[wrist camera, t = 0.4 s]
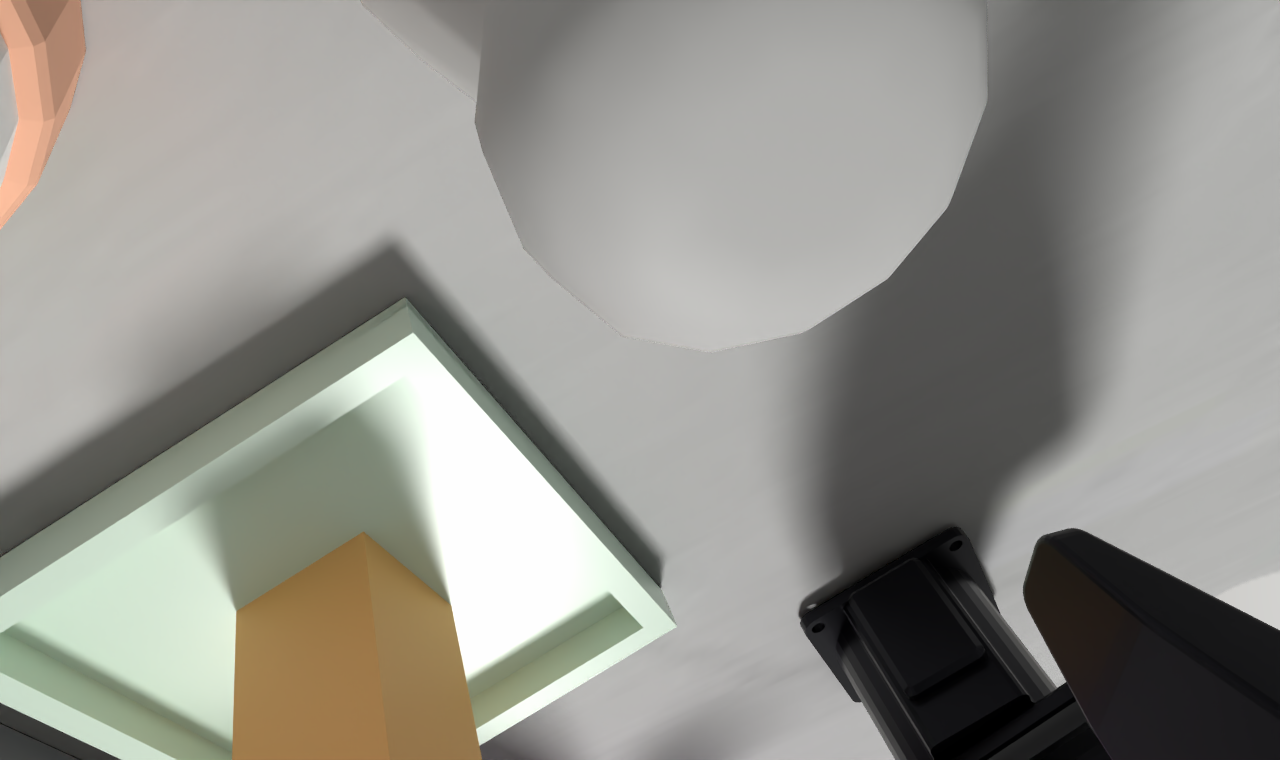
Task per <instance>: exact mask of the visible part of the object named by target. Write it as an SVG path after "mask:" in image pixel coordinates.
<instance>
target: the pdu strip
mask: <svg viewBox="0 0 1280 760" xmlns="http://www.w3.org/2000/svg"><path fill="white" fill-rule="evenodd" d="M0 760H79V759H76V758H74V757H72V756H70V755H68V754H65V753H63V752H61V751H59V750H57V749H55V748H52V747H50V746H48V745H46V744H44V743H41V742H39V741H37V740H35V739H33V738H30V737H28V736H26V735H24V734H22V733H19V732H17V731H15V730H13V729H11V728H8V727H6V726H4V725H2V724H0Z"/></svg>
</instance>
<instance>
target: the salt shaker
mask: <svg viewBox="0 0 1280 760" xmlns="http://www.w3.org/2000/svg"><path fill="white" fill-rule="evenodd" d="M360 1H361V3H362V5H363V6H364V7H365V8H366V9H367V10H368V11H369V12H370V13H371V14H372V15H373V16H374V17H376V18H377V19H378V20H379V21H380V22H381V23H382V24H383V25H384V26H385V27H386V28H387V29H388V30H389V31H391V32H392V33H393V34H394V35H395V36H396V37H397V38H398V39H399V40H400V41H401V42H402V43H403V44H404V45H405V46H407V47H408V48H409V49H410V50H411V51H412V52H413V53H414V54H415V55H416V56H417V57H418V58H419V59H420V60H422V61H423V62H424V63H425V64H426V65H428V66H429V67H430V68H432V69H433V70H434V71H436V72H437V73H438V74H439V75H441V76H442V77H443V78H445V79H446V80H447V81H449V82H450V83H451V84H452V85H454V86H455V87H456V88H458V89H459V90H460V91H462V92H463V93H464V94H466V95H467V96H468V97H469V98H471V99H472V100H473V101H475V102H476V114H475V125H476V129H477V133H478V136H479V140H480V144H481V147H482V151H483V154H484V156H485V158H486V161H487V163H488V165H489V168H490V170H491V173H492V175H493V177H494V180H495V182H496V184H497V187H498V189H499V192H500V194H501V196H502V199H503V201H504V204H505V206H506V208H507V211H508V213H509V215H510V218H511V220H512V223H513V225H514V227H515V230H516V232H517V234H518V237H519V239H520V242H521V244H522V246H523V249H524V250H525V251H526V252H527V253H528V254H529V255H530V256H531V257H532V258H533V259H534V260H535V261H536V262H537V263H538V264H539V266H540V267H541V268H542V269H543V270H544V271H545V272H546V273H547V274H548V275H549V276H550V277H551V278H552V279H553V280H554V281H555V282H557V283H558V284H559V285H560V286H561V287H563V288H564V289H565V290H566V291H568V292H569V293H570V294H571V295H572V296H574V297H575V298H576V299H577V300H578V301H580V302H581V303H582V304H583V305H584V306H586V307H587V308H588V309H589V310H590V311H592V312H593V313H594V314H595V315H596V316H598V317H599V318H600V319H601V320H602V321H604V322H605V323H606V324H607V325H608V326H610V327H611V328H612V329H613V330H614V331H616V332H617V333H618V334H619V335H620V336H622V337H627V338H632V339H638V340H643V341H649V342H654V343H660V344H665V345H671V346H676V347H682V348H687V349H692V350H698V351H703V352H709V353H711V352H716V351H721V350H726V349H730V348H735V347H740V346H745V345H749V344H754V343H759V342H763V341H768V340H773V339H778V338H782V337H787V336H792V335H797V334H801V333H803V332H805V331H807V330H809V329H810V328H812V327H814V326H816V325H817V324H819V323H820V322H822V321H823V320H825V319H826V318H828V317H830V316H831V315H833V314H834V313H836V312H837V311H839V310H840V309H842V308H843V307H845V306H847V305H848V304H850V303H851V302H853V301H854V300H856V299H857V298H859V297H861V296H862V295H864V294H865V293H867V292H868V291H870V290H871V289H873V288H874V287H876V286H878V285H879V284H881V283H882V282H884V281H885V280H887V279H888V278H889V277H890V276H891V275H892V273H893V272H894V271H895V270H896V269H897V267H898V266H899V265H900V264H901V263H902V261H903V260H904V259H905V258H906V257H907V255H908V254H909V253H910V252H911V251H912V250H913V248H914V247H915V246H916V245H917V244H918V242H919V241H920V240H921V239H922V238H923V236H924V235H925V234H926V233H927V232H928V230H929V229H930V228H931V227H932V226H933V224H934V223H935V222H936V221H937V220H938V219H939V217H940V216H941V215H942V214H943V213H944V211H945V210H946V209H947V207H948V205H949V203H950V201H951V199H952V197H953V194H954V191H955V188H956V186H957V183H958V180H959V178H960V175H961V172H962V169H963V167H964V164H965V161H966V159H967V156H968V153H969V150H970V148H971V145H972V142H973V140H974V137H975V134H976V131H977V129H978V126H979V123H980V121H981V118H982V115H983V112H984V110H985V107H986V104H987V102H988V61H987V0H360Z"/></svg>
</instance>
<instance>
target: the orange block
mask: <svg viewBox="0 0 1280 760" xmlns="http://www.w3.org/2000/svg"><path fill="white" fill-rule="evenodd" d="M232 760H482V756H481V751H480V746H479V741H478V736H477V731H476V726H475V721H474V716H473V711H472V706H471V701H470V696H469V691H468V686H467V681H466V676H465V671H464V666H463V661H462V656H461V651H460V646H459V641H458V636H457V631H456V626H455V621H454V616H453V611H452V606H451V605H450V604H449V603H448V602H447V601H446V600H444V599H443V598H442V597H441V596H440V595H438V594H437V593H436V592H435V591H434V590H433V589H431V588H430V587H429V586H428V585H427V584H425V583H424V582H423V581H422V580H421V579H419V578H418V577H417V576H416V575H415V574H413V573H412V572H411V571H410V570H409V569H408V568H406V567H405V566H404V565H403V564H402V563H400V562H399V561H398V560H397V559H396V558H394V557H393V556H392V555H391V554H390V553H388V552H387V551H386V550H385V549H384V548H382V547H381V546H380V545H379V544H378V543H377V542H375V541H374V540H373V539H372V538H371V537H369V536H368V535H367V534H366V533H365V532H362V533H360V534H359V535H357V536H356V537H354V538H352V539H351V540H349V541H348V542H346V543H344V544H343V545H341V546H340V547H338V548H336V549H335V550H333V551H332V552H330V553H328V554H327V555H325V556H324V557H322V558H321V559H319V560H317V561H316V562H314V563H313V564H311V565H309V566H308V567H306V568H305V569H303V570H301V571H300V572H298V573H297V574H295V575H293V576H292V577H290V578H289V579H287V580H285V581H284V582H282V583H281V584H279V585H277V586H276V587H274V588H273V589H271V590H269V591H268V592H266V593H265V594H263V595H261V596H260V597H258V598H257V599H255V600H253V601H252V602H250V603H249V604H247V605H245V606H244V607H242V608H241V609H239V610H237V611H236V638H235V673H234V708H233V743H232Z"/></svg>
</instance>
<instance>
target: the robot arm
mask: <svg viewBox="0 0 1280 760" xmlns="http://www.w3.org/2000/svg"><path fill="white" fill-rule="evenodd" d="M1023 595H1024V601H1025V603H1026V606H1027V609H1028V611H1029V613H1030V615H1031V617H1032V618H1033V620H1034V622H1035V624H1036V626H1037V628H1038V630H1039V631H1040V633H1041V635H1042V637H1043V639H1044V641H1045V643H1046V645H1047V646H1048V648H1049V650H1050V652H1051V654H1052V656H1053V658H1054V659H1055V661H1056V663H1057V665H1058V667H1059V669H1060V671H1061V673H1062V674H1063V676H1064V678H1065V680H1066V683H1064V684H1063V685H1061V686H1060V687H1058V688H1057V687H1056V686H1055V684H1054V683H1053V682H1052V680H1051V679H1050V678H1049V677H1048V675H1047V674H1046V673H1045V671H1044V670H1043V669H1042V668H1041V666H1040V665H1039V664H1038V662H1037V661H1036V660H1035V659H1034V657H1033V656H1032V655H1031V653H1030V652H1029V651H1028V649H1027V648H1026V647H1025V646H1024V644H1023V643H1022V642H1021V640H1020V639H1019V638H1018V637H1017V635H1016V634H1015V633H1014V631H1013V630H1012V629H1011V628H1010V626H1009V625H1008V624H1007V622H1006V621H1005V620H1004V618H1003V617H1002V616H1001V615H1000V612H999V609H998V607H997V604H996V602H995V600H994V597H993V595H992V593H991V590H990V588H989V585H988V583H987V581H986V578H985V576H984V574H983V571H982V569H981V566H980V564H979V562H978V559H977V557H976V554H975V552H974V550H973V547H972V545H971V543H970V540H969V538H968V537H967V536H966V534H965V533H964V532H963V531H962V529H961V528H959V527H953V528H950V529H947V530H946V531H944V532H942V533H941V534H939V535H937V536H935V537H934V538H932V539H930V540H929V541H927V542H925V543H924V544H922V545H920V546H919V547H917V548H915V549H914V550H912V551H910V552H909V553H907V554H905V555H904V556H902V557H900V558H899V559H897V560H895V561H894V562H892V563H890V564H889V565H887V566H885V567H884V568H882V569H880V570H879V571H877V572H875V573H874V574H872V575H870V576H869V577H867V578H865V579H864V580H862V581H860V582H859V583H857V584H855V585H854V586H852V587H850V588H849V589H847V590H845V591H844V592H842V593H840V594H839V595H837V596H835V597H834V598H832V599H830V600H829V601H827V602H825V603H824V604H822V605H820V606H819V607H817V608H815V609H814V610H812V611H810V612H809V613H807V614H806V615H805V616H804V617H803V618H802V619H801V622H800V625H801V627H802V629H803V631H804V633H805V634H806V636H807V637H808V639H809V640H810V642H811V643H812V644H813V646H814V647H815V649H816V650H817V651H818V653H819V654H820V655H821V657H822V658H823V660H824V661H825V662H826V664H827V665H828V667H829V668H830V669H831V671H832V672H833V674H834V675H835V676H836V678H837V679H838V680H839V682H840V683H841V685H842V686H843V687H844V689H845V690H846V692H847V693H848V694H849V696H850V697H851V698H852V700H853V701H854V702H862V703H863V705H864V706H865V708H866V710H867V712H868V713H869V715H870V717H871V719H872V720H873V722H874V724H875V725H876V727H877V729H878V731H879V732H880V734H881V736H882V738H883V739H884V741H885V743H886V745H887V746H888V748H889V750H890V752H891V753H892V755H893V757H894V758H895V760H1280V630H1278V629H1276V628H1274V627H1272V626H1270V625H1268V624H1266V623H1264V622H1262V621H1260V620H1258V619H1256V618H1254V617H1252V616H1251V615H1249V614H1247V613H1245V612H1243V611H1241V610H1239V609H1237V608H1235V607H1233V606H1231V605H1229V604H1227V603H1225V602H1223V601H1221V600H1219V599H1217V598H1215V597H1213V596H1211V595H1209V594H1207V593H1205V592H1203V591H1202V590H1200V589H1198V588H1196V587H1194V586H1192V585H1190V584H1188V583H1186V582H1184V581H1182V580H1180V579H1178V578H1176V577H1174V576H1172V575H1170V574H1168V573H1166V572H1164V571H1162V570H1160V569H1158V568H1156V567H1154V566H1153V565H1151V564H1149V563H1147V562H1145V561H1143V560H1141V559H1139V558H1137V557H1135V556H1133V555H1131V554H1129V553H1127V552H1125V551H1123V550H1121V549H1119V548H1117V547H1115V546H1113V545H1111V544H1109V543H1107V542H1105V541H1103V540H1102V539H1100V538H1098V537H1096V536H1094V535H1092V534H1090V533H1088V532H1086V531H1083V530H1080V529H1076V528H1070V529H1065V530H1061V531H1057V532H1054V533H1050V534H1046V535H1043V536H1042V537H1041V538H1039V539H1038V541H1037V543H1036V545H1035V548H1034V551H1033V554H1032V558H1031V561H1030V564H1029V568H1028V571H1027V574H1026V578H1025V581H1024V585H1023Z"/></svg>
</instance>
